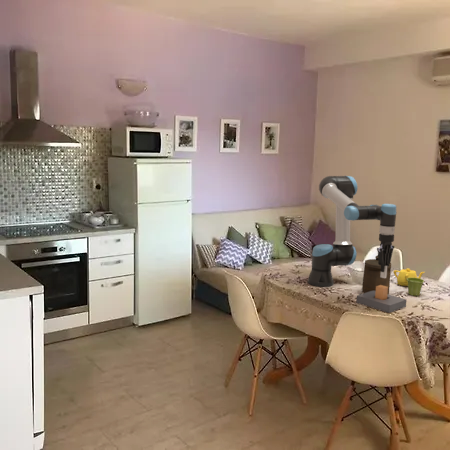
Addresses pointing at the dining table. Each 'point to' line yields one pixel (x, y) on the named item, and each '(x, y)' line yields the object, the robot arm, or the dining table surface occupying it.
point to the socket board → (381, 302)
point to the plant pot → (414, 286)
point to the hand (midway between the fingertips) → (383, 277)
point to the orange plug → (381, 292)
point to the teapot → (406, 276)
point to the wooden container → (374, 276)
